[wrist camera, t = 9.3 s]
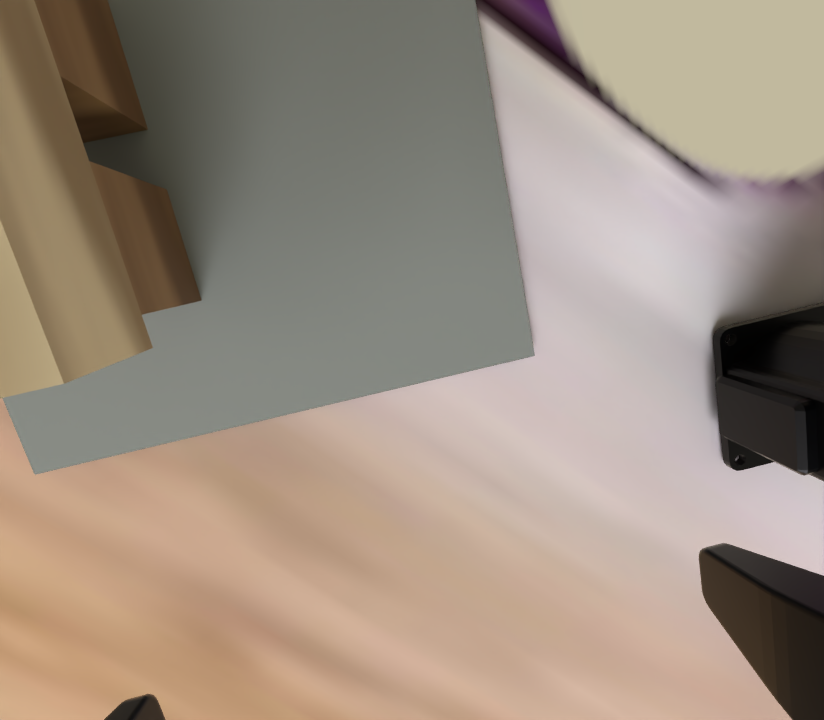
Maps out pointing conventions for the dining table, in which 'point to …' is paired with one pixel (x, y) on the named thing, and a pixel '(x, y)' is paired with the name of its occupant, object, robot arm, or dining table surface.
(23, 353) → the maple plank
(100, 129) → the walnut post
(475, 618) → the dining table surface
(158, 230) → the walnut post
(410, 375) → the slate mat
